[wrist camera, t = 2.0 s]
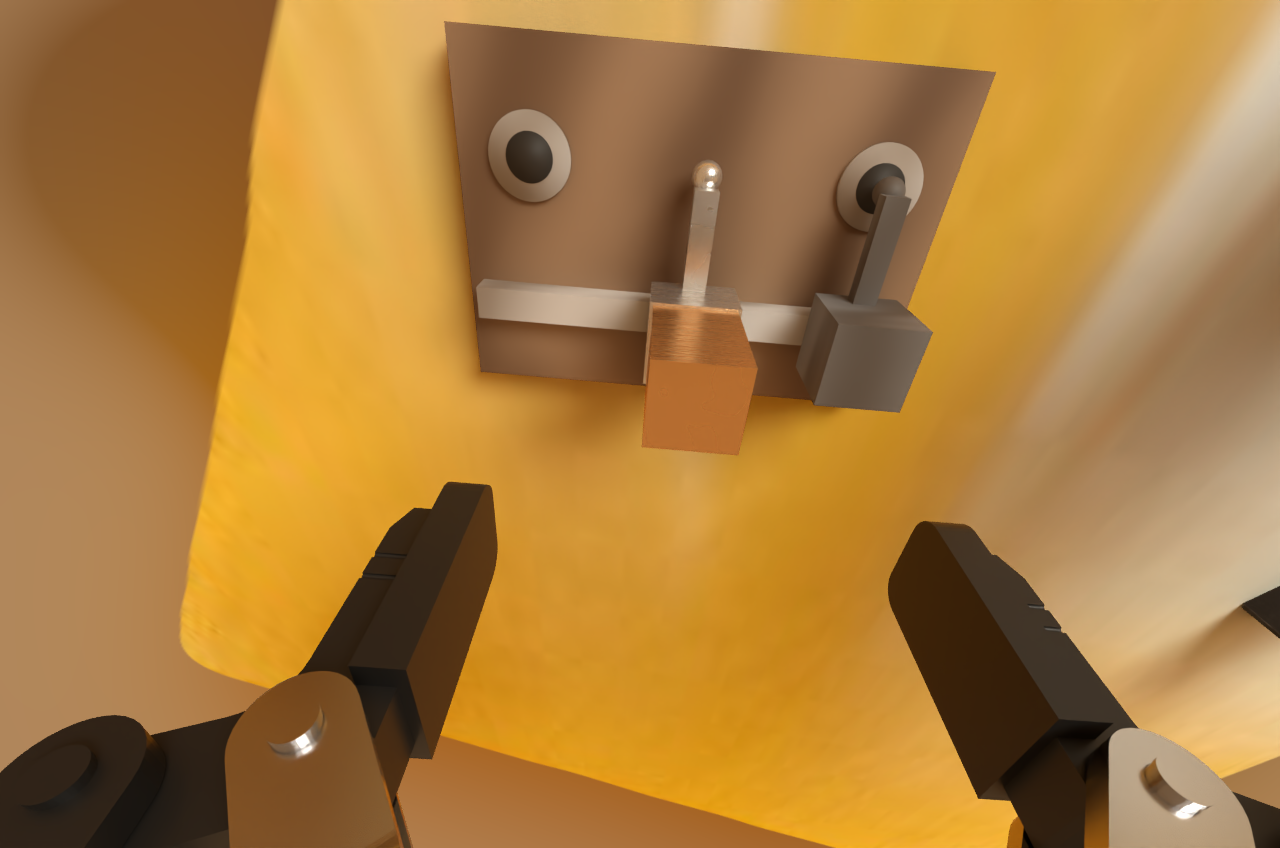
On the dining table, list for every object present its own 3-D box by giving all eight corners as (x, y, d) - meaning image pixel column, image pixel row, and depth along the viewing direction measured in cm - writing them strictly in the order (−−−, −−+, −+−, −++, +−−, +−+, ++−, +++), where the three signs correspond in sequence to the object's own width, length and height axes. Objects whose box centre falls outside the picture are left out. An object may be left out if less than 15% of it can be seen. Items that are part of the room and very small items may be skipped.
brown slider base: (971, 73, 17) (1085, 66, 12) (859, 388, 24) (907, 460, 19) (460, 26, 17) (384, 2, 12) (490, 356, 23) (448, 421, 19)
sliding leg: (753, 162, 17) (800, 199, 11) (719, 354, 21) (740, 458, 15) (663, 153, 17) (662, 187, 11) (645, 348, 21) (638, 449, 15)
